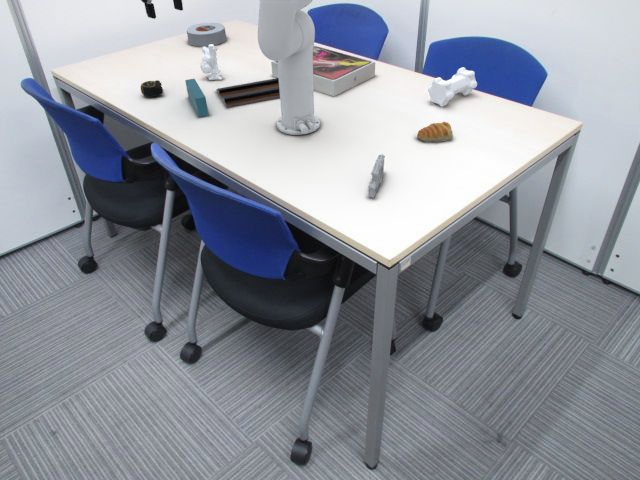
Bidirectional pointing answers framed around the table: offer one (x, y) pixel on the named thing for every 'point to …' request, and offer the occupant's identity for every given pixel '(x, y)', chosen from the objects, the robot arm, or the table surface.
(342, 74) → the product packaging
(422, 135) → the pastry
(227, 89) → the holder board
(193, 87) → the teal bar
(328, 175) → the table surface
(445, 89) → the bone shaped toy
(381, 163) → the garden wall model
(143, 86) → the tape measure
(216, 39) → the tape roll
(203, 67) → the white animal statuette
